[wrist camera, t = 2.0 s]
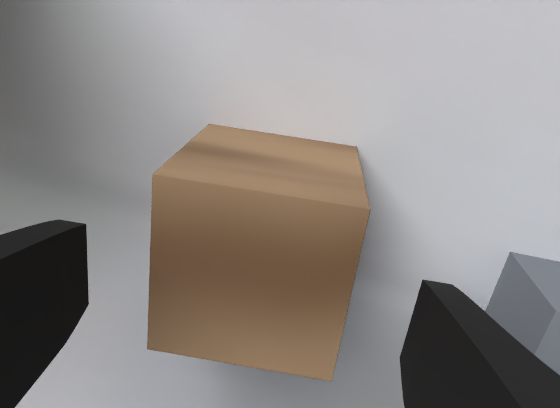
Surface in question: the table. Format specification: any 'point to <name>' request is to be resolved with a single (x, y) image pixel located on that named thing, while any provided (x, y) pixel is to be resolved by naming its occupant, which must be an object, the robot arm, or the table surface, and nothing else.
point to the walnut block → (255, 250)
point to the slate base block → (530, 305)
